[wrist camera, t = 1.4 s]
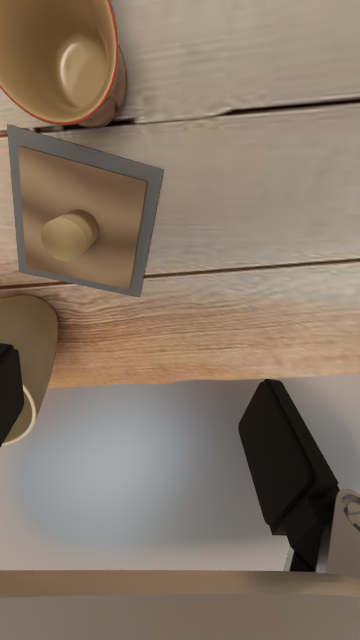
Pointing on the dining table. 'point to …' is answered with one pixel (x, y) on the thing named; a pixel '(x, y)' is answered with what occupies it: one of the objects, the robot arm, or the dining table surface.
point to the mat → (98, 160)
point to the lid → (79, 218)
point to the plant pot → (29, 352)
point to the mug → (62, 60)
